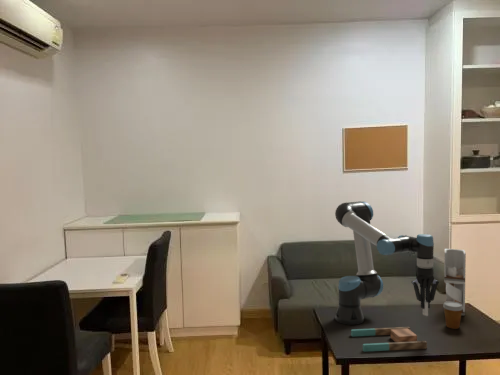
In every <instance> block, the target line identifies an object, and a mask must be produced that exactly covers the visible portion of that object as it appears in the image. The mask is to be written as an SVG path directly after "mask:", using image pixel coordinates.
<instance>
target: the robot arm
mask: <svg viewBox="0 0 500 375" xmlns="http://www.w3.org/2000/svg"><path fill="white" fill-rule="evenodd" d="M334 214H335V218H336V220H337V223H339V224H340V225H341V226H342V227H345V228H349V229H350V230H352V232H353V233H352V234H353V239H354V240H353V241H354V246H355V247H354V248H355V255H356V262H357V263H356V264H357V272H356V274H355V275H346V276H342V277H341V278H340V279H339V280H338V286H337V287H338V306H337V309H336V312H335V321H336V322H338V323H340V324H344V325H351V326H353V325H360V324H362V323H364V321H365V318H364V314H363V310H362V307H361V300H364V299H369V298H370V299H371V298H375V297H377V296H380V295H381V294H382V292H383V291H384V282H383V279H382V278H381V276H380V275H378V272H377V271H376V270H375V268H374V267H375V266H374V260H373V253H372V252H373V251H372V246H371V245H374V246H375V247H376V250H377V251H378V253H379V254H380V255H383V256H391V255H394V254H402V253H407V252H410V253H413V254H416V266H417V267H416V277H415V280H411V284H412V286H413V290H414V292H415V297H416V300H417V301H419V302H420V308H421V309H422V315H423V316H425V317H428V316H429V309H430V307H431V306H430V305H431V304H430V303H431V302H432V301H434V300H435V296H436V291H437V287H438V285H439V283H440V281H439V280H436V279H435V277H434V272H435V271H434V269H435V268H434V264H435V263H434V249H435V248H434V247H435V246H434V245H435V243H434V236H433V235H431V234H428V233H427V234H425V233H424V234H423V233H420V234H417V235H416V236H415V237H414V236H409V235H407V234H405V235H403V234H402V235H399V236H397V237H390V236H389V235H387V234H385V233H384V232H383V231H381V230H379V229H378V228H376V227H375V226H373V225H371V221H372V220H373V218H374V210H373V207H372V205H371V204H369V203H368V202H367V201H351V202H349V201H348V202H343V203H341V204H339V205H338V206H337V207H336V209H335V211H334Z"/></svg>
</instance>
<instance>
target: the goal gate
mask: <svg viewBox="0 0 500 375" xmlns="http://www.w3.org/2000/svg"><path fill="white" fill-rule="evenodd" d="M375 332H376V330H375V329H374V328H373V327H372V328H357V329H356V328H354V329H351V330H350V337H353V338H354V337H369V336H370V337H373V336H376V335H375ZM389 343H390V342H376V343H373V342H371V343H362V351H363V353H365V352H380V351H386V352H387V351H390V350H389Z"/></svg>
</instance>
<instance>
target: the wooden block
mask: <svg viewBox="0 0 500 375" xmlns="http://www.w3.org/2000/svg"><path fill="white" fill-rule="evenodd" d="M390 339H391V340H393V341H394V342H412V341H418V335H417V334H416V333H415V332H413V331H412V330H411V329H410V330H409V329H408V328H406V329H391V335H390Z"/></svg>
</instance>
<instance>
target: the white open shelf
mask: <svg viewBox="0 0 500 375" xmlns="http://www.w3.org/2000/svg"><path fill="white" fill-rule="evenodd" d="M443 253H444V258H443V260H444V261H443V262H444V265H443V266H444V269H443V270H444V272H443V273H444V274H443V280H444V281H443V282H444V283H445V302H449V301H451V302H458V303H460V304H462V307H463V309H462V313H461V316H465V315H466V259H467V258H466V250H465V249H458V248H457V249H456V248H455V249H454V248H444V252H443ZM443 313H444V314H445V312H444V311H443Z"/></svg>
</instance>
